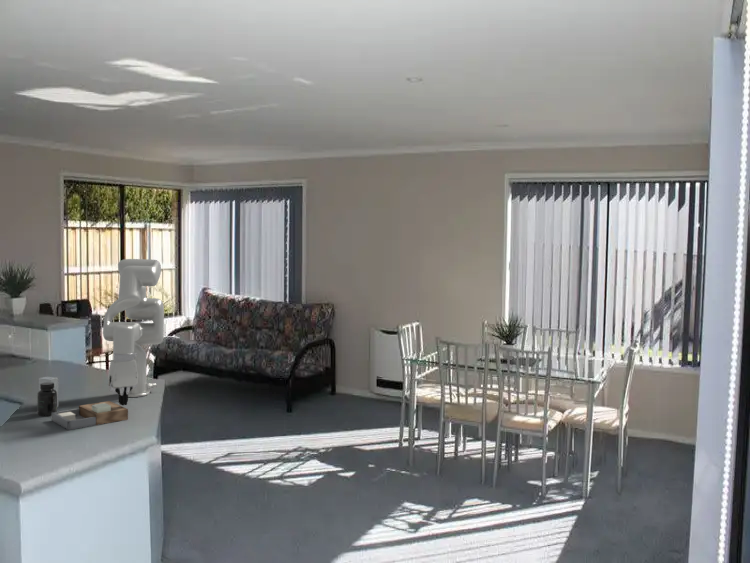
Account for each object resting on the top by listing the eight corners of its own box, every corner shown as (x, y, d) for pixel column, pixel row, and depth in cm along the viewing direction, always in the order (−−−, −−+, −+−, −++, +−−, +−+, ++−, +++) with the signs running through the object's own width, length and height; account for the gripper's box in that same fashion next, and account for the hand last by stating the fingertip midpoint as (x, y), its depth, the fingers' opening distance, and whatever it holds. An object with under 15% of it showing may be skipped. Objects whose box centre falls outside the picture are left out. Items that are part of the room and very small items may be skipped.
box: (78, 416, 251) (78, 408, 251) (95, 425, 240) (95, 417, 240) (51, 420, 244) (51, 412, 244) (68, 430, 233) (68, 421, 233)
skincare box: (58, 406, 264) (58, 377, 263) (50, 409, 260) (51, 379, 259) (46, 405, 265) (46, 376, 265) (38, 407, 261) (38, 378, 260)
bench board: (109, 410, 260) (109, 400, 260) (127, 419, 249) (128, 409, 249) (78, 415, 251) (78, 405, 251) (96, 425, 240) (96, 414, 240)
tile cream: (56, 413, 244) (56, 419, 244) (61, 416, 241) (61, 422, 241) (70, 411, 248) (70, 416, 248) (75, 414, 244) (75, 419, 244)
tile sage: (105, 408, 249) (105, 403, 249) (110, 410, 245) (110, 405, 245) (91, 410, 245) (91, 405, 245) (97, 413, 242) (97, 407, 242)
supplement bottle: (52, 410, 257) (52, 380, 257) (60, 414, 253) (60, 383, 252) (34, 414, 252) (34, 383, 251) (42, 417, 248) (42, 386, 247)
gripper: (137, 354, 258) (137, 399, 259) (100, 357, 248) (99, 405, 249) (146, 356, 253) (146, 403, 254) (108, 360, 242) (108, 409, 243)
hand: (123, 404), depth 251 cm, fingers closed
